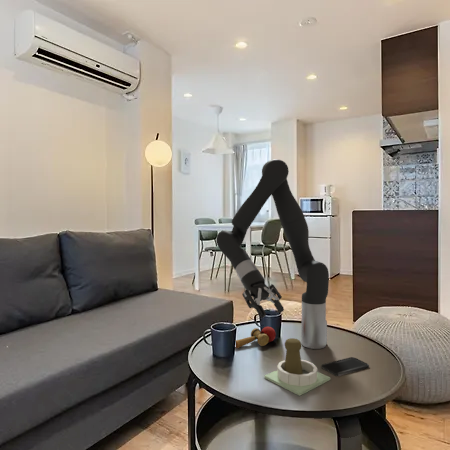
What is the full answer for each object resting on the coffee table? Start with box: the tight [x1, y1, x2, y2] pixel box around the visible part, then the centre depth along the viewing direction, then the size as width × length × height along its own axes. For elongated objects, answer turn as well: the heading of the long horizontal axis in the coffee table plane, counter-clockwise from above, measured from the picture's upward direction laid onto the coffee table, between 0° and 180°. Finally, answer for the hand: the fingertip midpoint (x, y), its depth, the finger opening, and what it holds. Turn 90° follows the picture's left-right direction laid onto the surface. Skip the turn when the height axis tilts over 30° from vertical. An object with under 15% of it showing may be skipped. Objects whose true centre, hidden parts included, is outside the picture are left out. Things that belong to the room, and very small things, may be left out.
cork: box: [284, 337, 303, 375], centre depth 113 cm, size 6×6×11 cm
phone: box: [321, 356, 370, 377], centre depth 120 cm, size 8×1×15 cm
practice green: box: [263, 359, 331, 396], centre depth 111 cm, size 15×14×4 cm
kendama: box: [235, 326, 277, 349], centre depth 141 cm, size 8×6×18 cm
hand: (273, 314), depth 119 cm, fingers open, 8 cm apart
